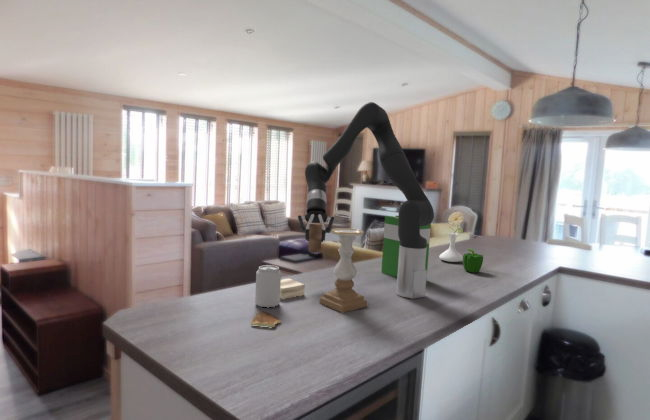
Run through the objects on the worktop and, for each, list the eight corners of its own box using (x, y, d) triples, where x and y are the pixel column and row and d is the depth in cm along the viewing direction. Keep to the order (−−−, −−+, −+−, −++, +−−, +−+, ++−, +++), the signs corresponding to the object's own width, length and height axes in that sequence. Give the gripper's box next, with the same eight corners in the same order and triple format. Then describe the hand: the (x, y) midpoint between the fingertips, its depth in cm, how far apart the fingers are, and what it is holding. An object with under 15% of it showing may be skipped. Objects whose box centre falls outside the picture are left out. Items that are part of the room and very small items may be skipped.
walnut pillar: (320, 249, 154) (322, 222, 153) (320, 252, 149) (322, 224, 148) (308, 249, 154) (309, 222, 153) (308, 251, 149) (309, 223, 148)
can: (256, 309, 124) (257, 270, 123) (253, 301, 131) (255, 264, 130) (281, 308, 126) (283, 269, 125) (277, 300, 133) (279, 263, 132)
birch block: (304, 296, 140) (304, 284, 140) (281, 300, 134) (282, 288, 134) (288, 289, 147) (289, 278, 147) (266, 293, 141) (267, 281, 141)
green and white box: (381, 272, 176) (385, 216, 174) (393, 270, 181) (397, 215, 178) (414, 282, 163) (419, 221, 160) (426, 280, 167) (431, 221, 165)
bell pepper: (486, 273, 184) (488, 251, 183) (471, 274, 181) (473, 251, 180) (473, 269, 192) (474, 247, 191) (458, 269, 189) (460, 247, 188)
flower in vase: (434, 258, 210) (438, 209, 207) (454, 258, 213) (458, 209, 210) (449, 265, 197) (453, 212, 195) (470, 264, 201) (474, 212, 198)
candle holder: (318, 302, 133) (322, 228, 131) (344, 297, 140) (348, 226, 138) (342, 313, 125) (346, 234, 122) (367, 306, 132) (372, 231, 129)
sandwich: (260, 314, 122) (260, 308, 122) (286, 316, 121) (286, 310, 121) (249, 328, 111) (249, 321, 111) (277, 331, 110) (278, 324, 110)
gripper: (297, 196, 157) (295, 233, 146) (335, 198, 157) (335, 235, 147) (297, 209, 163) (295, 245, 152) (334, 210, 163) (334, 247, 152)
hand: (315, 240), depth 149 cm, fingers closed on walnut pillar, 4 cm apart
